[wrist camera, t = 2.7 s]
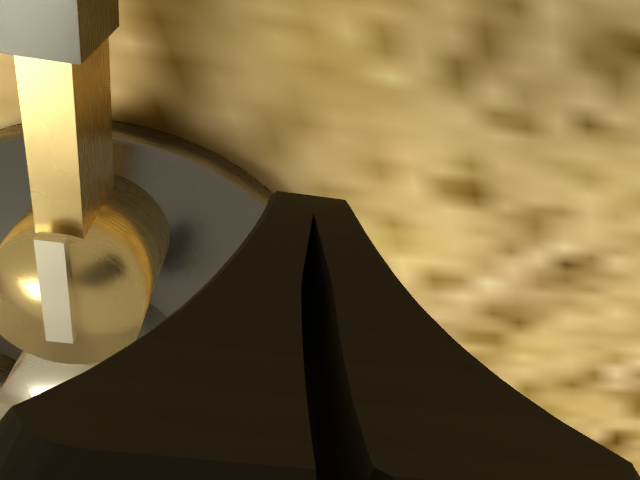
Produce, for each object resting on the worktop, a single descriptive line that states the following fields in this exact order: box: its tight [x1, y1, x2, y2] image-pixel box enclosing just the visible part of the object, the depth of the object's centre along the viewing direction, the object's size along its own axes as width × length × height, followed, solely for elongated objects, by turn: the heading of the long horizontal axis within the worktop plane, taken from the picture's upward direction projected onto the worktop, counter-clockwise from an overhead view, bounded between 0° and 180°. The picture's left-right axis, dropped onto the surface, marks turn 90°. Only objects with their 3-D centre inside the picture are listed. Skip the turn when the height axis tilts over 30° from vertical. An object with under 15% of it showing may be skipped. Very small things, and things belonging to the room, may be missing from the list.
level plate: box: [0, 121, 273, 420], centre depth 18 cm, size 14×14×4 cm
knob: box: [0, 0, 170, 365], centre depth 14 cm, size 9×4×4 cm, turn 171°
